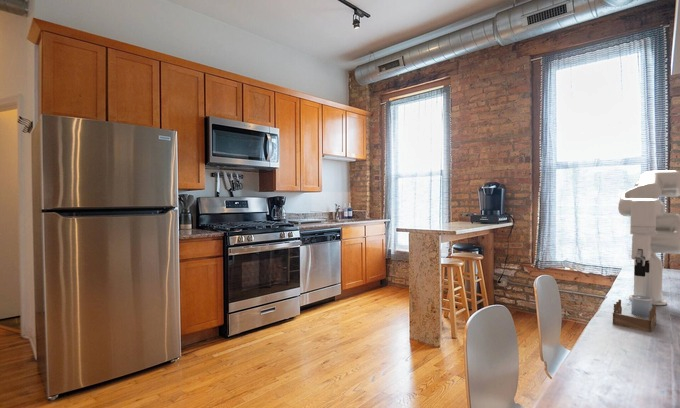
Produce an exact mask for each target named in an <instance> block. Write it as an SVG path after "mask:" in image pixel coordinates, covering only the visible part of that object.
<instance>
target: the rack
mask: <svg viewBox="0 0 680 408" xmlns="http://www.w3.org/2000/svg"><path fill="white" fill-rule="evenodd" d="M622 309H623V307H622V300H621V299H618V301H615V303H613V312H612V325H615V326H620V327H625V328H630V329H634V330H638V331H643V332H648V333H652V332H653V330H654V328H655V326H656V325H657V305H652V308H651V310H649V317H648V319H647V318H644V317H639V316H633V315H626V314H622V311H623V310H622Z"/></svg>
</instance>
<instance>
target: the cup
mask: <svg viewBox="0 0 680 408" xmlns="http://www.w3.org/2000/svg"><path fill="white" fill-rule="evenodd" d="M631 295H632V300H631V315H632V316H633V315H634V316H635V317H639V318H649V310H651V308H653V305H652V298H650V297H647V296H641V295H634V294H631Z"/></svg>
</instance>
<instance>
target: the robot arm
mask: <svg viewBox="0 0 680 408" xmlns="http://www.w3.org/2000/svg"><path fill="white" fill-rule="evenodd" d="M660 197H661V198H662V197H664V198H665V197H667V198H669V197H670V198H673V197H675V198H676V197H680V171H678V170H673V169H672V170H670V169H669V170H668V169H666V170H650V171H645V172H643V173H642V174H640V175H639V178H638V181H636V182H635V183H634V187H633V188H630V189H628V190H626V191H624V192H623V193H622V194H621V195H620V198H619V202H618V213H619V214H620V215H621V216H623V217H630V227H629V230H630V234H631V235H632V237H631V242H632V243H631V255H630V256H631V257H630V258H631V260H633V263H634V265H633V294H631V295H629V297H628V298H629V300H630V301H632V295H641V296H647V297H650V298H652V306H666V305H667V304H668V301H667V300H665V299H663V272H664V271H663V268H664V267H663V266H664V265H663V262H662V259H661V258H660V257H659V256H658V255H657V254H658V253H659V254H669V255H680V213H676V212H665V208H666V207H665V203H664V202H663V201H662V200H660V199H659V198H660Z"/></svg>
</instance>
